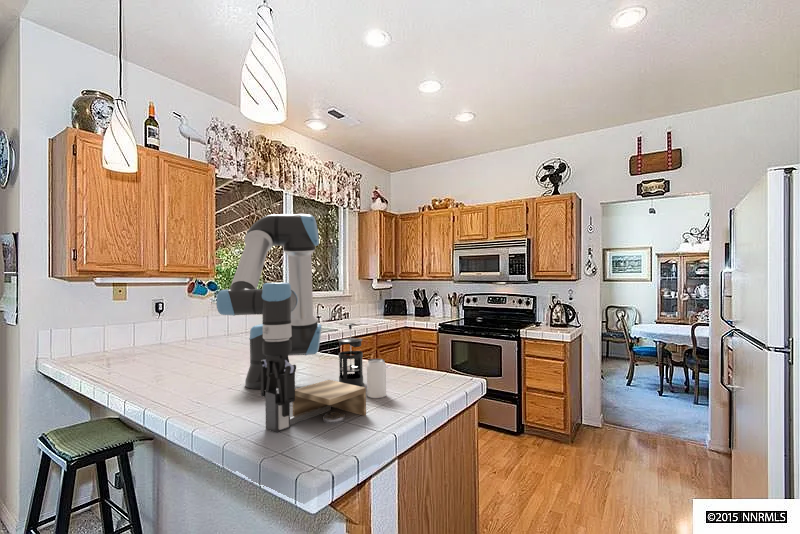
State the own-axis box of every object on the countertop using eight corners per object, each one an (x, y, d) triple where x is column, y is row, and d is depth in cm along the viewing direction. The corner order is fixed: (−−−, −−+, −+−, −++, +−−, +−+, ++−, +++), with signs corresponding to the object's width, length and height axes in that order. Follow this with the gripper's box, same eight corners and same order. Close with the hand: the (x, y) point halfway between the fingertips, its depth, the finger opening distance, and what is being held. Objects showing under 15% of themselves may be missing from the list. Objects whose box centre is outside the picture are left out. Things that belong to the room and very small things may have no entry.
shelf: (292, 417, 117) (292, 389, 117) (329, 404, 128) (328, 379, 128) (330, 429, 107) (329, 399, 108) (366, 415, 118) (365, 387, 118)
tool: (265, 428, 109) (265, 391, 109) (324, 408, 125) (323, 376, 125) (275, 432, 106) (275, 394, 106) (334, 411, 122) (333, 378, 122)
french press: (355, 390, 144) (354, 325, 145) (332, 387, 148) (331, 324, 148) (370, 382, 155) (369, 322, 156) (348, 379, 159) (347, 321, 159)
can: (383, 399, 133) (383, 362, 134) (364, 398, 135) (364, 362, 135) (388, 393, 140) (387, 358, 140) (370, 392, 141) (369, 358, 141)
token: (319, 421, 115) (318, 416, 115) (334, 415, 119) (334, 410, 119) (333, 426, 111) (333, 421, 111) (349, 419, 116) (349, 414, 116)
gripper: (246, 338, 112) (247, 422, 112) (285, 344, 101) (285, 438, 101) (270, 334, 118) (270, 415, 118) (308, 340, 107) (309, 428, 107)
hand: (277, 425), depth 109 cm, fingers closed on tool, 4 cm apart
